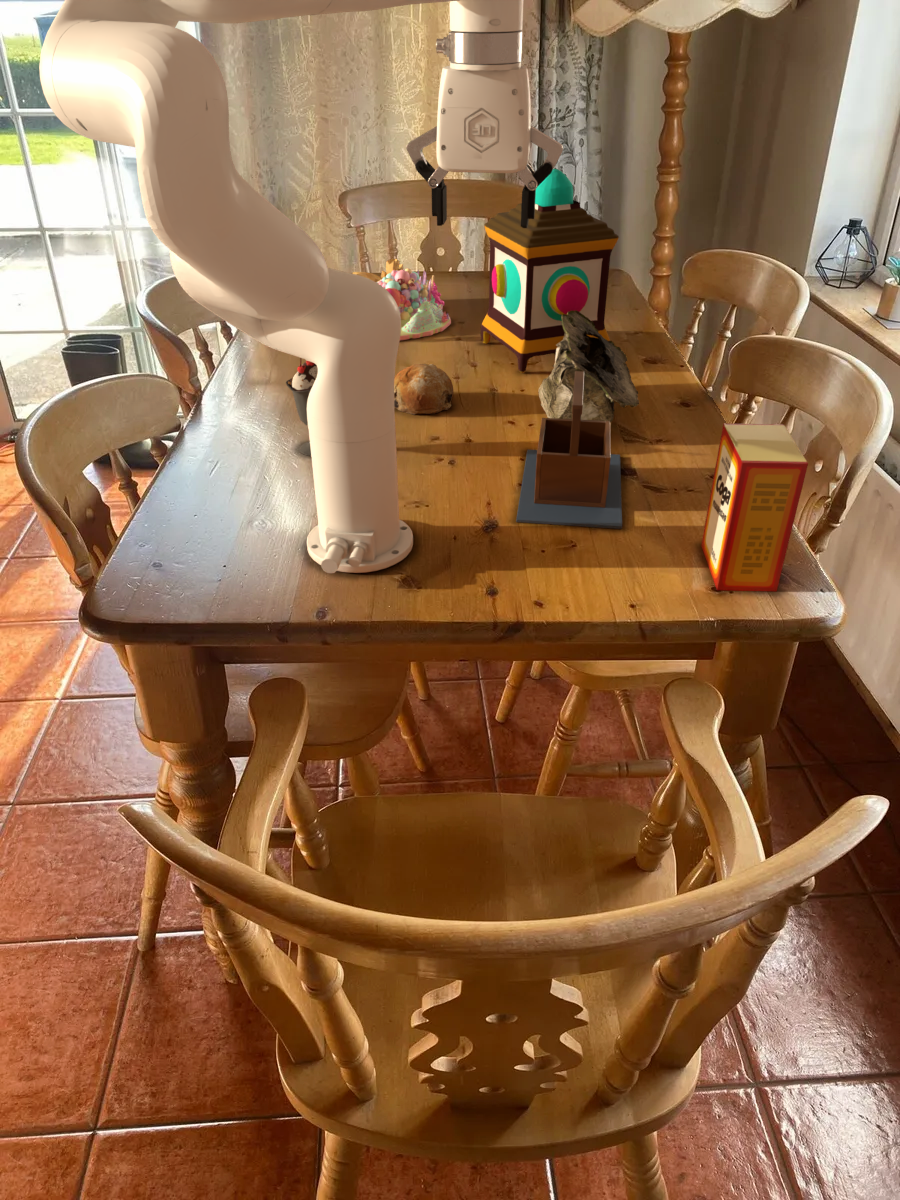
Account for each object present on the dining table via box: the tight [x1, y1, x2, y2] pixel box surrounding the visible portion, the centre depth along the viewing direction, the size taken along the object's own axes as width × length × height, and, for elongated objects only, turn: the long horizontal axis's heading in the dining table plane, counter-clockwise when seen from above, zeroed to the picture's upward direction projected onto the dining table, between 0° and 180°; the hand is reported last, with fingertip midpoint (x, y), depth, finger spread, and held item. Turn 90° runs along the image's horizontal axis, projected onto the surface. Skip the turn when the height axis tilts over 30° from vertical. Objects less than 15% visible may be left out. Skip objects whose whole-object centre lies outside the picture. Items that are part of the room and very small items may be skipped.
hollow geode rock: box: [537, 310, 640, 423], centre depth 138 cm, size 28×13×15 cm
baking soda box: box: [700, 423, 809, 592], centre depth 100 cm, size 10×6×16 cm
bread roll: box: [394, 363, 454, 416], centre depth 142 cm, size 10×10×8 cm
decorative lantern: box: [480, 168, 620, 374], centre depth 154 cm, size 20×20×30 cm
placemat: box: [515, 449, 623, 530], centre depth 120 cm, size 20×13×1 cm, turn 172°
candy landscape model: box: [351, 258, 452, 341], centre depth 175 cm, size 25×24×9 cm
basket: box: [534, 371, 612, 508], centre depth 116 cm, size 11×9×14 cm
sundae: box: [285, 357, 318, 457], centre depth 126 cm, size 7×7×15 cm
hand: (483, 224), depth 105 cm, fingers open, 9 cm apart
